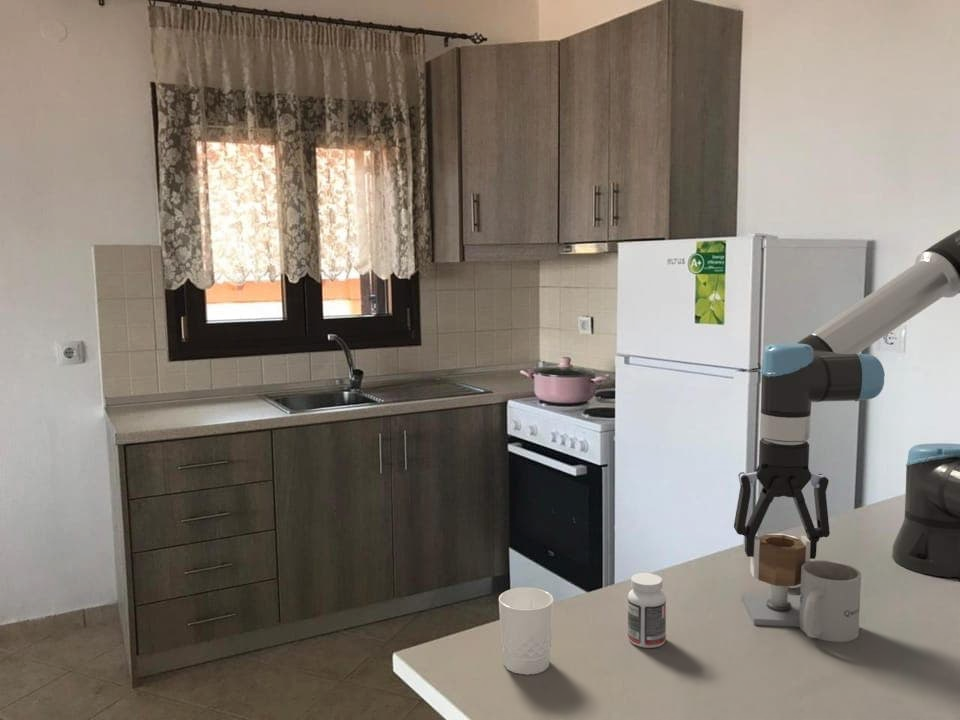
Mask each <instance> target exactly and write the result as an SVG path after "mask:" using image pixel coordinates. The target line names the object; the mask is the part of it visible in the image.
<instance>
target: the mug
mask: <svg viewBox="0 0 960 720" xmlns="http://www.w3.org/2000/svg"><path fill="white" fill-rule="evenodd" d="M861 586H862V573H861V572H860V571H859V570H858V569H857V568H855V567H854V566H851V565H849V564H845V563H843V562H838V561H832V560H810V562H806V563H804V564H803V565H802V567H801V586H800V587H799V588H800V589H799V590H800V591H799V592H800V593H799V595H800V613H799V619H800V627H799V628H800V630H801V631H802V632H804V633H805V634H806V636H808V637H809V638H812V639H813V638H815V639H819V640H823V641H829V642H837V643H839V642H840V643H841V642H849V641H850V642H851V641H854V640H855V639H857V637H858V636H859V629H860V628H859V627H860V624H859V623H860V607H861V588H862V587H861Z"/></svg>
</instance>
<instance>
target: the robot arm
mask: <svg viewBox="0 0 960 720" xmlns="http://www.w3.org/2000/svg"><path fill="white" fill-rule="evenodd" d="M958 294H960V229H958V230H956V231H955V232H952V233H950V234H949V235H947V236H946V237H944V238H943V239H941V240H939V241H937V242H935V244H933V245H931V246H929V247H928V248H927V249H926V250H923V251H922V252H921V253H919V254H918V255H917V257H916V259H915V263H914V264H913V265H912V266H910V267H908V268H906V269H905V270H904V271H903V272H901V273H900V274H898V275H896V276H895V277H894V278H892V279H891V280H889V281H888V282H886V283H884V284H883V285H882V286H881V287H880V286H879V288H877V289H876V290H874V291H873V292H871V293H870V294H868V295H867V296H865V297H864V298H862V299H861V300H860V301H858V302H857V303H855V304H853V305H852V306H850V307H849V308H847V309H846V310H844V311H842V312H841V313H840V314H839V315H837V316H836V317H834V318H832V319H831V320H829V321H828V322H826V323H825V324H823V325H822V326H820V327H819V328H818V329H816V330H815V331H813V332H812V333H810V334H809V335H807V336H806V337H804V338H802V339H801V340H799V341H798V342H796V343H795V342H777V343H776V342H775V343H771V344H768V345H766V346H765V348H764V350H763V356H762V362H761V370H760V374H761V391H760V392H761V393H760V395H761V396H760V397H761V398H760V421H759V422H760V424H759V425H760V427H759V435H760V436H761V439H760V440H759V450H758V451H759V453H758V465H757V467H756V469H755V471H754V472H747V473H746V472H745V471H744V472H743V471H742V472H741V471H740V472H739V473H738V481H739V485H740V487H739V493H738V498H737V505H736V509H735V516H734V521H733V528H734V529H733V530H735V532H736V534H738V535H742V536H744V553H745V555H746V556H747V557H749V558H750V565H749V566H750V568H749V569H750V574H751V575H752V577H753V579H758V575H759V547H760V539H759V538H758V537H759V536H758V535H757V533H758V531H759V530H760V527H761V525H762V523H763V520H764V519H765V516H766V513H767V512H768V509H769V507H770V505H771V503H773V501H774V498H781V497H785V498H792V499H793V502H794V504H795V508H796V510H797V512H798V516H799V518H800V520H801V522H802V526H803V529H804V530H805V535H800V540H801V541H802V542H803V543H804V544H805V546H806V557H805V563H806V562H810V561H811V560H812V559H813V560H815V559H816V558H817V546H818V544H817V543H818V542H819V541H820V539H822V538H828V537H829V536H830V534H831V532H830V523H829V514H828V503H827V489H828V485H829V481H830V480H829V478H828V477H826V476H825V475H824V474H822V473H817V474H816V473H811V471H810V468H809V461H810V460H809V458H810V444H809V442H808V440H809V439H810V437H811V411H812V403H820V402H850V401H851V402H852V401H854V402H859V401H863V400H864V401H866V400H872V399H875V398H876V397H878V395H880V394H881V393H882V391H883V389H884V386H885V370H884V366H883V365H882V362H881V361H880V359H878V357H877V356H875V355H873V354H870V353H869V354H867V353H862V352H863V351H864V350H865V349H867V348H869V347H870V346H871V345H873V344H875V343H876V342H878V341H879V340H880V339H882V338H883V337H885V336H887V335H888V334H889V333H891V332H892V331H894V330H896V329H897V328H899V327H900V326H901V325H903V324H905V323H906V322H907V321H909V320H911V319H912V318H913V317H915V316H916V315H918V314H920V313H921V312H923V310H926V309H927V308H928V307H930V306H931V305H933V304H934V303H936V302H937V301H939V300H940V299H942V298H954V297H956V296H957V295H958ZM905 467H906V469H905V470H906V472H905V495H904V496H905V499H904V519H903V522H902V524H901V527H900V528H899V531H898V533H897V535H896V537H895V539H894V542H893V545H892V553H891V554H892V556H891V557H892V559H893V560H894V562H895V563H897V564H898V565H899V566H902V567H903V568H906V569H908V570H910V571H915V572H917V573H922V574H925V575H929V574H930V575H931V576H934V575H935V577H941V576H943V578H952V577H960V443H946V442H945V443H941V442H940V443H938V442H936V443H934V442H933V443H921V444H916V445H914V446H912V447H910V449H909V450H908V454H907V462H906V464H905ZM756 480H758V482H759V483H760V484H761V486H762V488H761V490H760V493H759V496H758V499H757V501H756V504H755V506H754V509H753V510H752V513H751V516H750V517H749V519H748V522H747V518H748V517H747V516H748V512H749V505H750V500H751V499H750V498H751V493H752V491H751V490H752V487H754V486H755V482H756ZM809 482H810V483H811V486H812V487H813V496H814V497H813V498H814V504H815V505H814V506H815V516H816V526H817V527H815V525H814V522H813V520H812V516H811V514H810V511H809V509H808V506H807V504H806V499H805V496H804V494H803V489H804V487H805V486H806V485H808V483H809ZM746 522H747V524H746ZM930 575H929V576H930Z"/></svg>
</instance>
